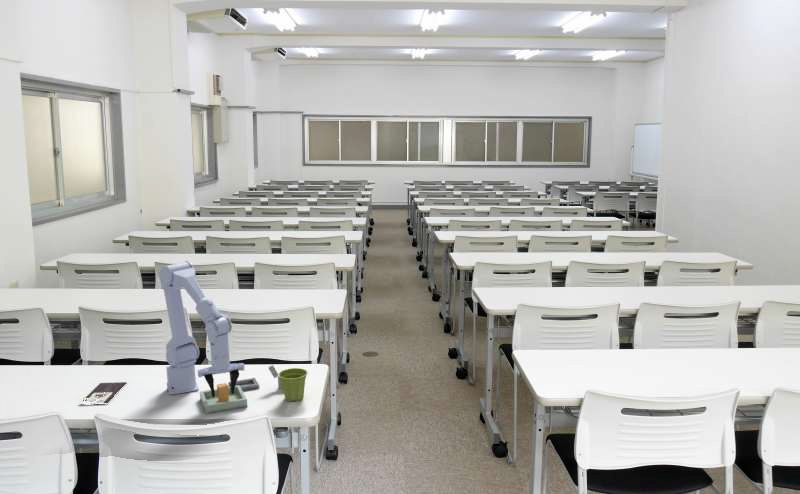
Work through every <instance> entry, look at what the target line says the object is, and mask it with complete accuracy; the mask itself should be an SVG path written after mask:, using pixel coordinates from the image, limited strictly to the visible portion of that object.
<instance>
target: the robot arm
mask: <svg viewBox="0 0 800 494" xmlns="http://www.w3.org/2000/svg"><path fill="white" fill-rule="evenodd" d="M196 273H197V272H196V269H195V267H194V265H193V264H192V262H190V261H189V260H185V261H183V262H177V263H173V264H169V265H167V264H166V265H163V266H161V268H160V270H159V271H158V277H159V281H160V288H161V290H163V292H164V293H163V294H164V298H165V304H166V310H167V315H168V316H167V317H168V320H169V321H168V322H169V327H170V333H171V339H170V340H169V341H168V342H166V344H165V347H166V349H165V350H166V352H165V353H166V354H165V358H166V362H167V363H168V364H169V365H167V366H166V368H165V369H166V378H167V379H166V381H167V382H166V386H167V387H166V388H167V389H168V394H169V395H176V394H183V393H184V394H186V393H190V392H196V391H199V390H200V389H199V386H198V383H197V377H196V366H195V365H196V364H195V363H196V362H197V359H198V358H199V357H200V349H199V348H200V347H199V346H198V345H197V344H198V343H197V341H196V338H195V337H193V336H192V335H189V331H188V325H187V320H186V315H185V309H184V302H183V299H182V292H181V290H182V288H183V289H184V290H185V291H186V293H187V295H189V296H190V298H191V299H192V301H194V303H195V305H196V306H195V311H196V312H197V314H198V315H199V317H200V318H201V320H202V321H203V323H204V324H205V327H204V330H205V334H206V335H207V340H208V343H210V344H209V345H210V346H209V347H210V359H211V360H210V361H211V362H210V363H211V366H208V367H204V368H200V369H197V376H198V378H202V377H204V379H205V381H206V383H207V384H208V387H209V388H210V389H209V390H211V393H212V397H215V392H214V389H215V388H214V387H215V386H214V385H215V383H214V381H215V379H214V376H213V375H218V374H219V375H221V374H227V373H229V379H230V381H229V382H230V389H231V393H232V394H234V389H235V384H236V381H238V380H239V377H240V371H242V372H243V371H245V363H243V362H242V363H241V362H239V363H231V359H230V358H231V357H230V343H229V333H231V331H232V329H233V328H232V322H231V320H230V319H229V317H228V316H226V315H225V314H223V313H221V312H220V311H219V309H218V308H217V306H216V305H215V303H214V301H213V300H212V299H210V298H207V297H206V296H205V293H204V292H203V290H202V288H201V286H200V284H199V283H198V281H197V278H196V275H197V274H196Z"/></svg>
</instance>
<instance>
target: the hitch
mask: <svg viewBox="0 0 800 494" xmlns="http://www.w3.org/2000/svg"><path fill="white" fill-rule="evenodd" d="M227 382H228V384H227V385H228V387H230V381H227ZM237 385H240V387H241V389H242V391H243V392H244V391H249V390H257V389H260V384H259V382H258V381H257V379H256V378H255V377H253V378H246V379H241V380H240V379H238V380H237V381H236V384H235V386H237Z"/></svg>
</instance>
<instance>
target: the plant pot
mask: <svg viewBox="0 0 800 494" xmlns="http://www.w3.org/2000/svg"><path fill="white" fill-rule="evenodd" d="M278 375H279V377H280V380H281V382H282V386H283V388H282V390H283V395H284V399H285V400H286V401H288V402H294V401H296V402H298V401H302V400H303V398H304V397H305V386H306V385H305V384H306V378H307V376H308V371H307V369H305V368H301V367H299V368H298V367H293V368H286V369H283V370H281V371H280V372H278Z"/></svg>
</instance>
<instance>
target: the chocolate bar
mask: <svg viewBox="0 0 800 494" xmlns="http://www.w3.org/2000/svg"><path fill="white" fill-rule="evenodd" d="M125 384H127V381H124V382H123V381H121V382H119V381H117V382H100V383H98V385H97V386H96V387H94V389H93V390H91V392H90V393H89V394H87V395H86V396H85V398H89V399H88V400H87V399H86V400H85V401H90V402H93V401H96V399H101V400H100V401H99V400H98V401H97V402H96V403H108V402H109V401H110V400H111V399H112V398H113V397H114V395H115V394H116V393H117V392H118V391H119V390H120V389H121V388H122V387H123V386H124V385H125ZM125 386H126V385H125ZM125 386H124V387H125ZM124 387H123V388H124ZM123 388H122V389H123ZM122 389H121V390H122ZM121 390H120V391H121ZM120 391H119V392H120ZM104 392H105V393H104ZM119 392H118V393H119ZM98 393H99V394H98ZM118 393H117V394H118ZM92 394H93V395H92ZM117 394H116V395H117ZM103 395H104V396H103ZM97 396H98V397H97ZM90 398H91V399H90ZM103 398H104V399H103ZM114 398H115V397H114ZM114 398H113V399H114ZM102 399H103V400H102ZM113 399H112V400H113ZM82 400H83V401H84V399H82ZM112 400H111V401H112ZM111 401H110V402H111ZM110 402H109V403H110ZM109 403H108V404H109ZM91 404H92V403H91ZM94 404H95V402H94Z"/></svg>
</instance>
